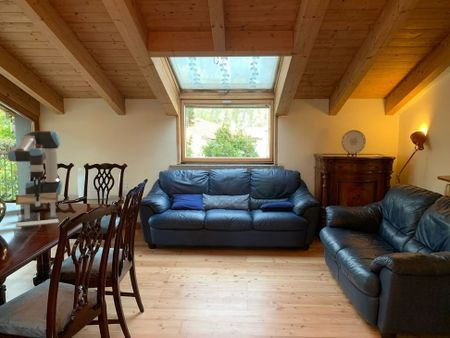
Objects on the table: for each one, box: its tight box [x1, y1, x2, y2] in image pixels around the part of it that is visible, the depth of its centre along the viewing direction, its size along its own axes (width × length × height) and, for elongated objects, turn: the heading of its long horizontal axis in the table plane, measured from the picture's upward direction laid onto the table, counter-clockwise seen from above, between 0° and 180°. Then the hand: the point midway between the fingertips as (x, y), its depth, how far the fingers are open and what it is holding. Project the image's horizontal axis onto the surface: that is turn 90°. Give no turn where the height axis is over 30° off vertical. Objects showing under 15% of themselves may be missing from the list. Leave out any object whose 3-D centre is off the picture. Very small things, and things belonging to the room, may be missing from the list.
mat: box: [16, 218, 59, 228], centre depth 210 cm, size 10×24×1 cm, turn 120°
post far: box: [48, 202, 58, 220], centre depth 226 cm, size 6×5×11 cm
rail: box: [15, 192, 59, 206], centre depth 209 cm, size 4×24×6 cm, turn 120°
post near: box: [22, 204, 33, 222], centre depth 218 cm, size 6×5×11 cm
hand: (37, 205), depth 209 cm, fingers closed on rail, 4 cm apart
